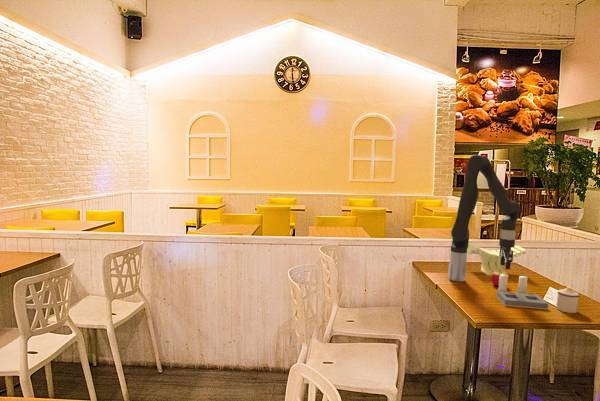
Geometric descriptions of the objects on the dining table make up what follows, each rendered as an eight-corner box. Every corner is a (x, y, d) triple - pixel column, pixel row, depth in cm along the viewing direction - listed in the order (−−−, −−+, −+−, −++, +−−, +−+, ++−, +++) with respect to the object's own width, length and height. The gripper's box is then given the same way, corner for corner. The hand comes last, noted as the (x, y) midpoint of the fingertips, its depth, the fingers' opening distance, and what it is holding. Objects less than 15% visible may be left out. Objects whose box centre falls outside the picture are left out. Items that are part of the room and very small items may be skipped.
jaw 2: (518, 295, 225) (520, 277, 224) (515, 293, 230) (517, 275, 229) (527, 296, 224) (529, 278, 223) (524, 293, 229) (526, 276, 228)
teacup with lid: (581, 314, 201) (584, 290, 200) (562, 313, 201) (564, 289, 200) (567, 305, 213) (569, 283, 212) (548, 304, 213) (551, 282, 212)
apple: (508, 286, 242) (509, 269, 241) (503, 289, 236) (505, 271, 235) (493, 282, 248) (494, 266, 247) (488, 285, 242) (489, 268, 241)
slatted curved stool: (512, 270, 277) (515, 244, 275) (523, 277, 261) (526, 249, 259) (466, 267, 280) (468, 241, 278) (474, 274, 264) (476, 247, 262)
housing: (504, 305, 209) (505, 299, 208) (496, 296, 223) (496, 291, 222) (547, 309, 206) (548, 303, 205) (536, 300, 219) (537, 294, 219)
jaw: (498, 294, 227) (500, 276, 226) (496, 291, 231) (498, 273, 230) (507, 294, 226) (509, 277, 225) (505, 292, 231) (506, 274, 229)
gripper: (496, 235, 233) (493, 263, 235) (504, 239, 219) (501, 270, 221) (510, 235, 232) (507, 264, 234) (519, 240, 218) (517, 271, 220)
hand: (505, 267), depth 227 cm, fingers open, 8 cm apart
